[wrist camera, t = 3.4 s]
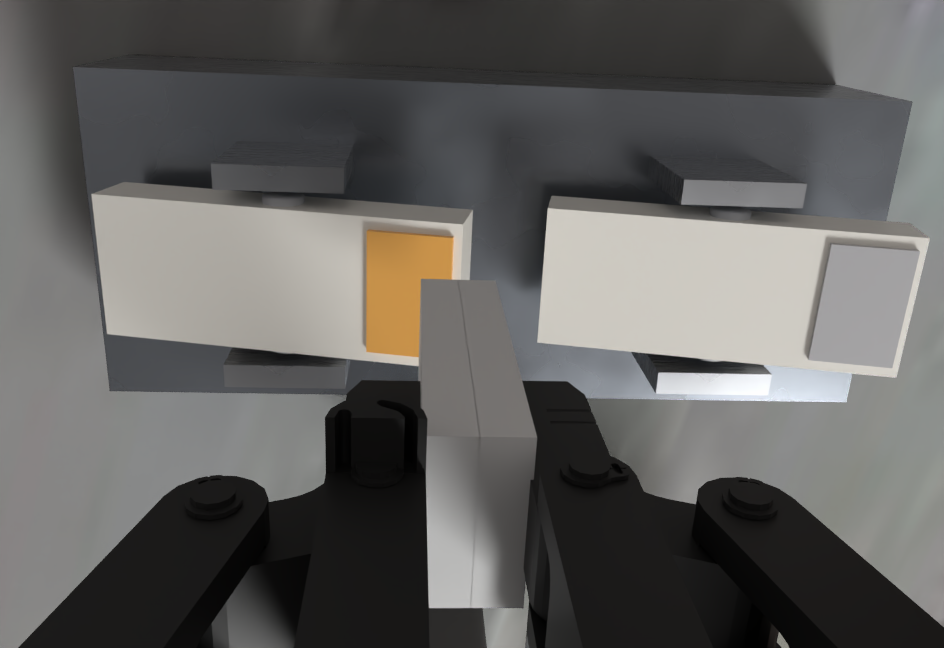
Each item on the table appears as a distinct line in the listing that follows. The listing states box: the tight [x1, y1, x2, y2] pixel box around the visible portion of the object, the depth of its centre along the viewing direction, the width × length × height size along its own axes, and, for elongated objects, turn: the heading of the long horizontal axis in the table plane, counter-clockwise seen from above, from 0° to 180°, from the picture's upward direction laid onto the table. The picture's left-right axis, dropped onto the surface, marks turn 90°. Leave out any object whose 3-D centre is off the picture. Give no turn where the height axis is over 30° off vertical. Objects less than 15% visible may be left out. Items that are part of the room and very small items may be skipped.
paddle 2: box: [537, 196, 930, 378], centre depth 22 cm, size 9×4×2 cm, turn 88°
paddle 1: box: [91, 182, 473, 366], centre depth 21 cm, size 9×4×2 cm, turn 87°
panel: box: [73, 55, 912, 402], centre depth 25 cm, size 22×9×8 cm, turn 87°
